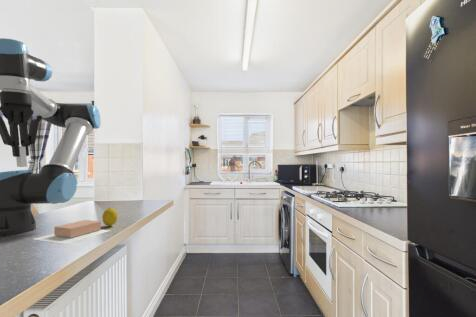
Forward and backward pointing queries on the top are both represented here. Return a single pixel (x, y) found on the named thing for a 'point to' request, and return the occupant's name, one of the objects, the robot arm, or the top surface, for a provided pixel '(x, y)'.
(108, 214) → the lemon
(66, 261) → the top surface
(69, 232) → the block
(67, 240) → the mat
